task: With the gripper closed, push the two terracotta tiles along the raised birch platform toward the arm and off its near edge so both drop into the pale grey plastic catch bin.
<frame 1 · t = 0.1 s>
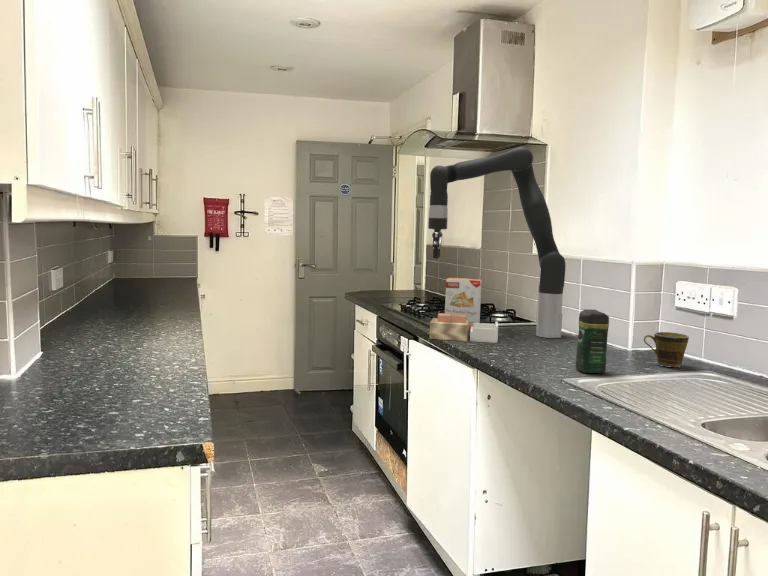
hand: (436, 257, 244), 29 cm above the worktop, fingers open, 8 cm apart
catch bin: (483, 339, 230), on the worktop
cracker box: (461, 329, 250), on the worktop
platform: (449, 336, 232), on the worktop
ceramic cup: (663, 365, 195), on the worktop
tile 1: (444, 321, 232), point 6 cm above the worktop, touching platform
tile 2: (459, 321, 231), point 6 cm above the worktop, touching platform
coffee jar: (590, 371, 184), on the worktop
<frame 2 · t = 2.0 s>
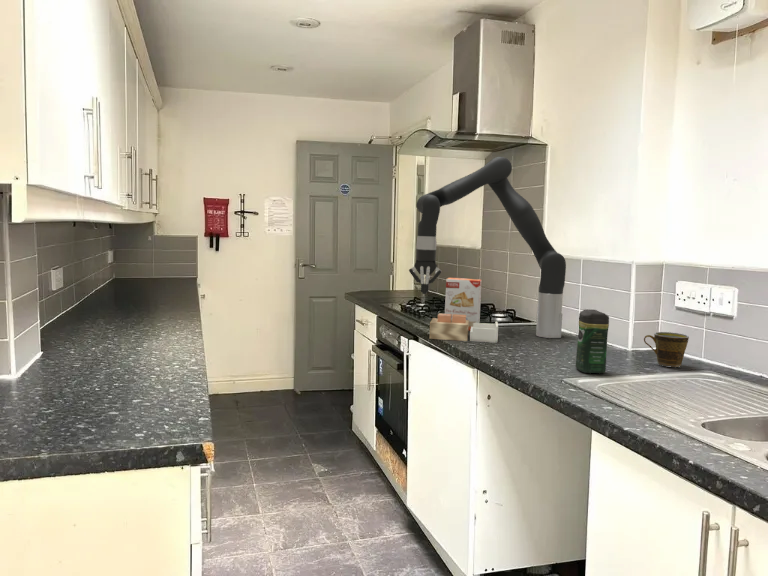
hand: (424, 293, 232), 16 cm above the worktop, fingers closed
nothing on the worktop moved.
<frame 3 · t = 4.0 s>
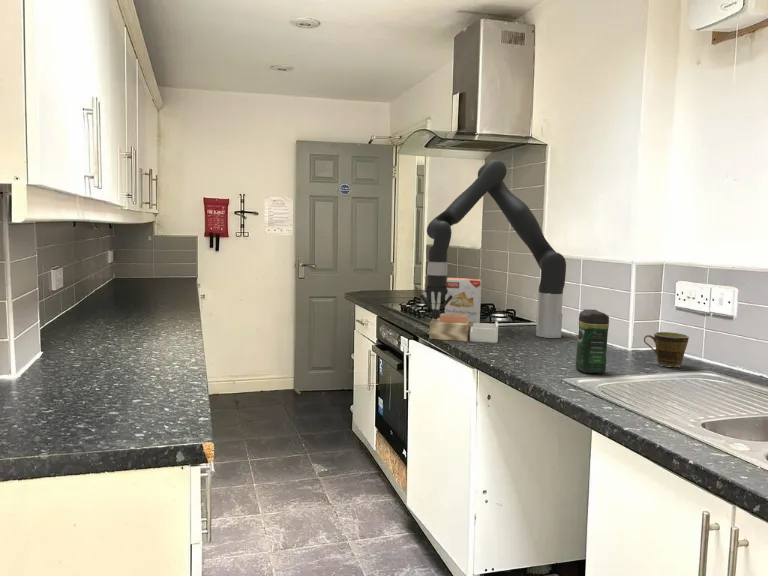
hand: (435, 318, 233), 7 cm above the worktop, fingers closed
tile 1: (446, 321, 232), point 6 cm above the worktop, touching gripper, platform, tile 2
tile 2: (459, 321, 231), point 6 cm above the worktop, touching tile 1
everything else where it was.
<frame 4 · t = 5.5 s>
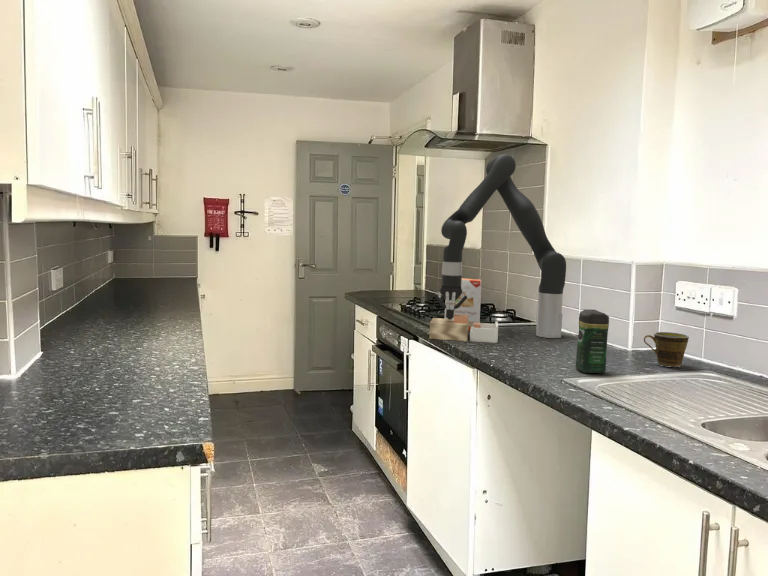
hand: (449, 319, 232), 7 cm above the worktop, fingers closed
tile 1: (460, 322, 231), point 6 cm above the worktop, touching gripper, platform
tile 2: (473, 329, 230), point 3 cm above the worktop, tilted 90°, touching catch bin
everything else where it was.
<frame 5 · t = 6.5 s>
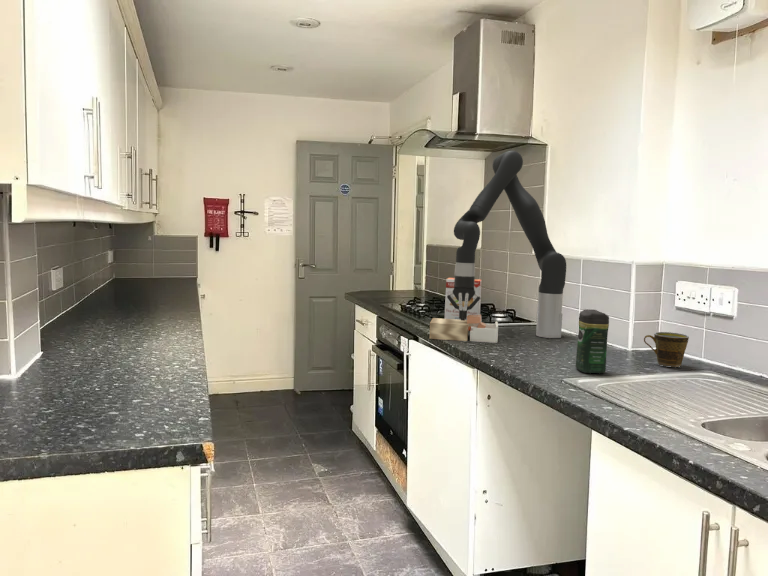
hand: (462, 320, 231), 7 cm above the worktop, fingers closed
tile 1: (474, 322, 230), point 6 cm above the worktop, touching gripper, tile 2
tile 2: (476, 328, 230), point 4 cm above the worktop, tilted 113°, touching catch bin, tile 1
everything else where it was.
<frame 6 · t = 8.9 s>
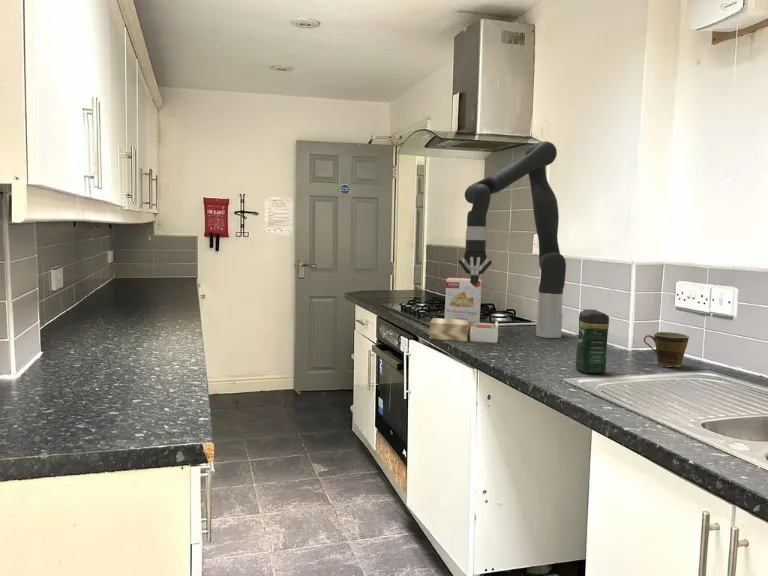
hand: (474, 285, 229), 20 cm above the worktop, fingers closed
tile 1: (483, 330, 230), point 3 cm above the worktop, touching tile 2
tile 2: (487, 330, 230), point 3 cm above the worktop, tilted 180°, touching catch bin, tile 1
everything else where it was.
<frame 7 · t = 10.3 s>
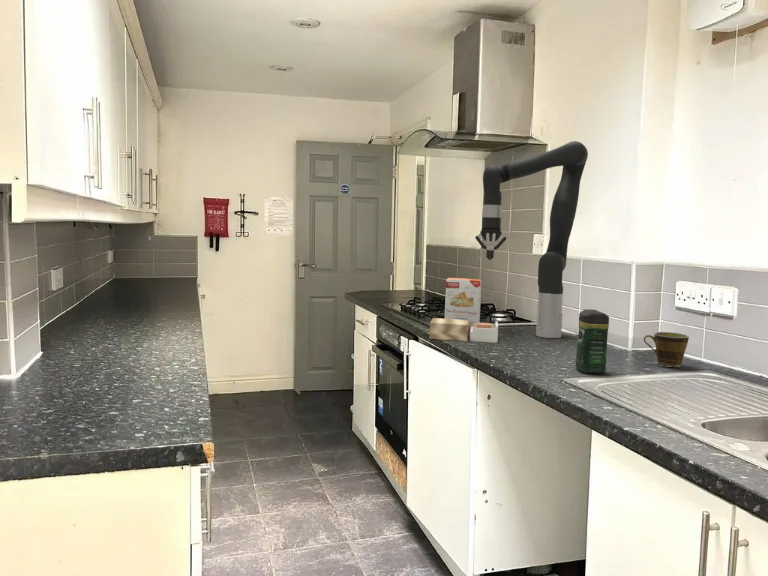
hand: (489, 259, 247), 29 cm above the worktop, fingers closed
nothing on the worktop moved.
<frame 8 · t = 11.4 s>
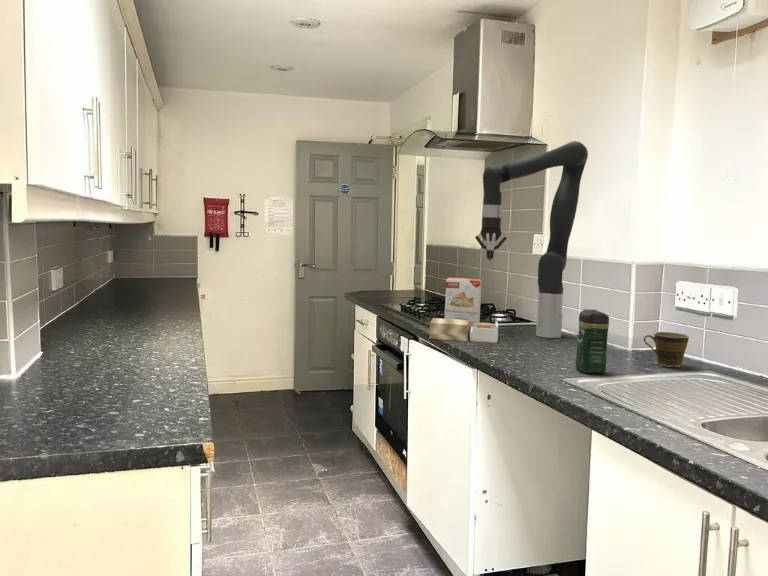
hand: (489, 259, 247), 29 cm above the worktop, fingers closed
nothing on the worktop moved.
at the end: tile 2 inside the target area on the catch bin (1.2 cm from its centre), point 3.3 cm above the catch bin's base; tile 1 inside the target area on the catch bin (0.2 cm from its centre), point 3.3 cm above the catch bin's base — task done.
